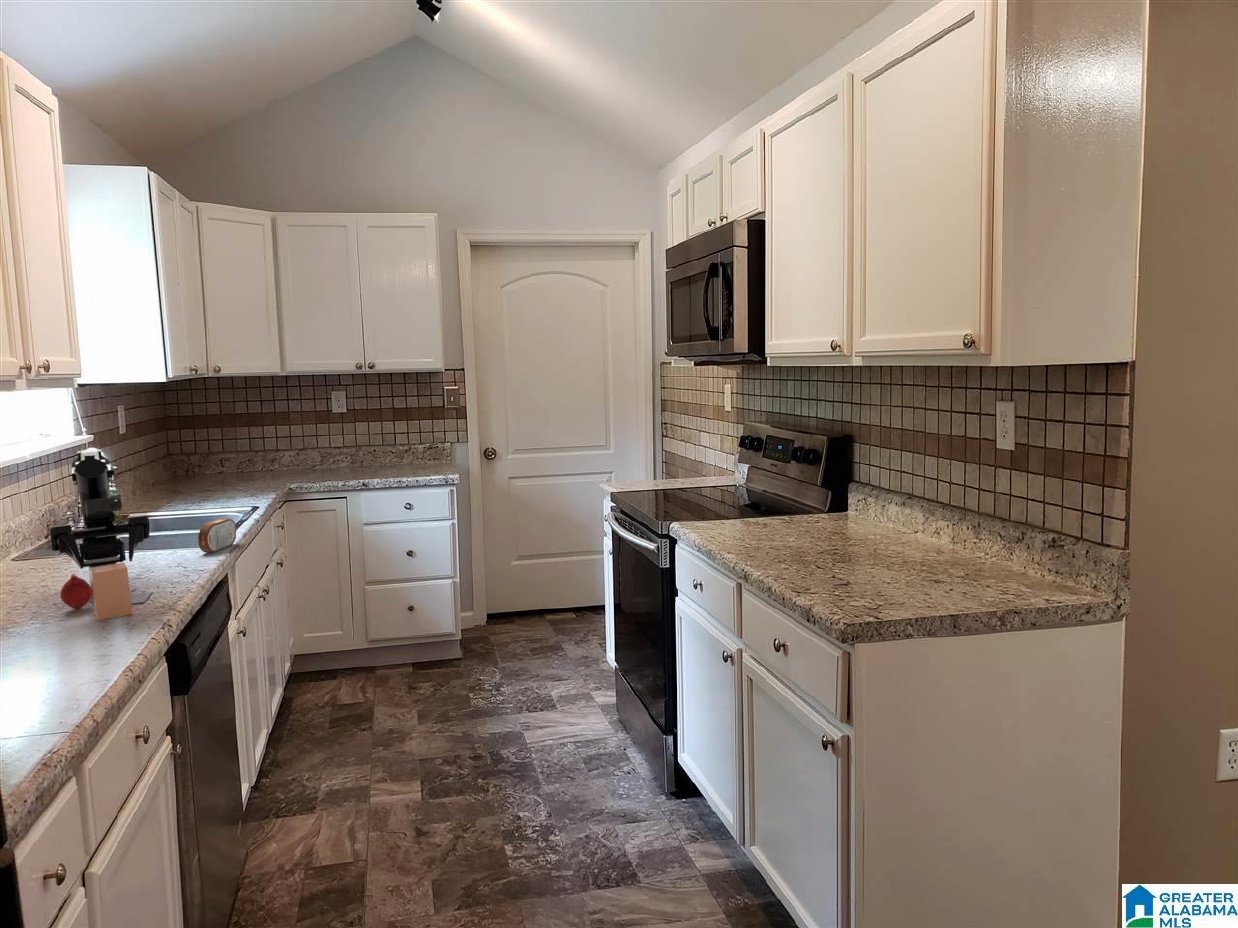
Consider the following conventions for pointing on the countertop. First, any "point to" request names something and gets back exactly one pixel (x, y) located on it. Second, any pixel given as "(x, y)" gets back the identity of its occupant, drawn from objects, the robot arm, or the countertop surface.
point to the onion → (76, 592)
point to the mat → (139, 597)
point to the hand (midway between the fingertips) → (106, 563)
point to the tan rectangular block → (111, 591)
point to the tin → (217, 535)
